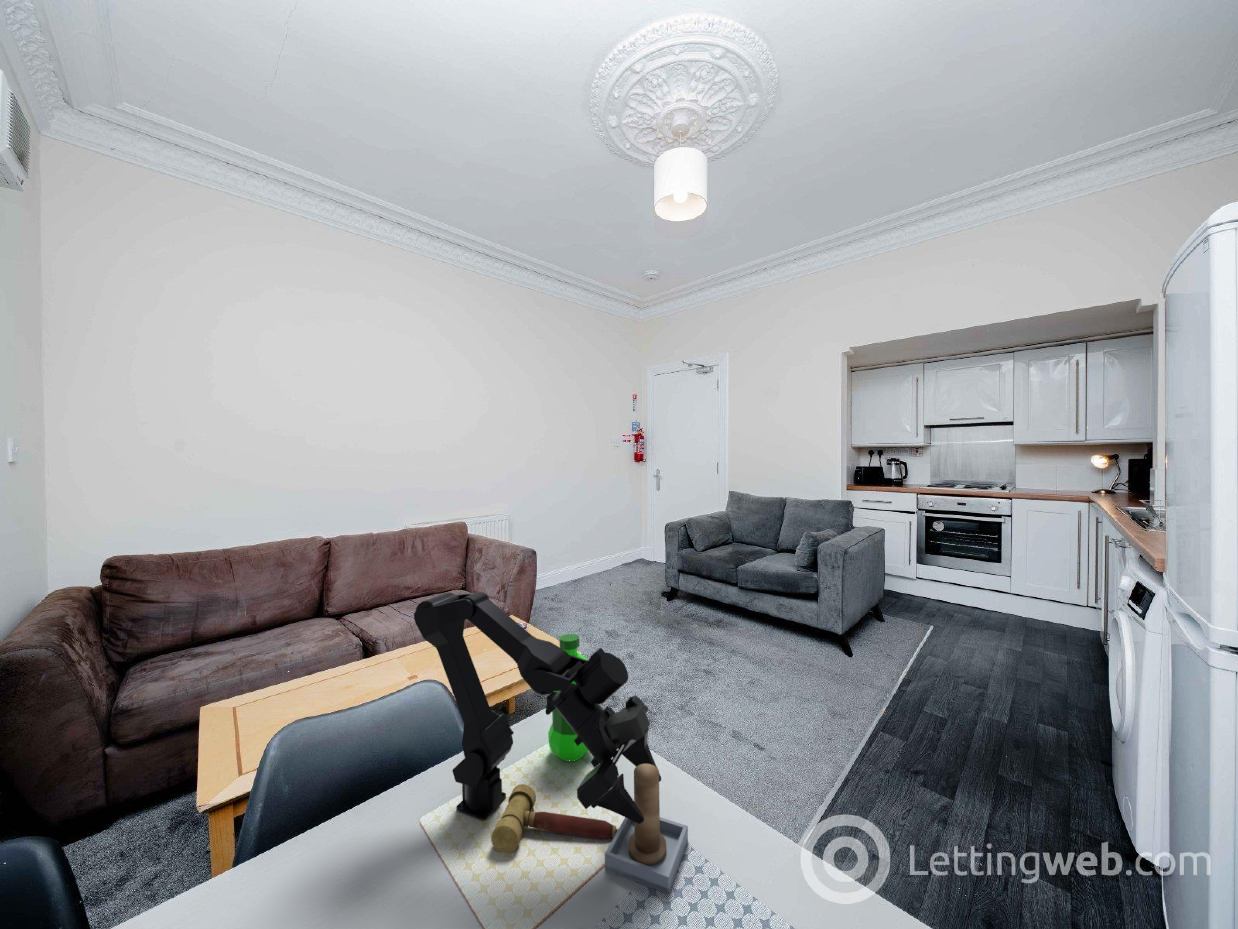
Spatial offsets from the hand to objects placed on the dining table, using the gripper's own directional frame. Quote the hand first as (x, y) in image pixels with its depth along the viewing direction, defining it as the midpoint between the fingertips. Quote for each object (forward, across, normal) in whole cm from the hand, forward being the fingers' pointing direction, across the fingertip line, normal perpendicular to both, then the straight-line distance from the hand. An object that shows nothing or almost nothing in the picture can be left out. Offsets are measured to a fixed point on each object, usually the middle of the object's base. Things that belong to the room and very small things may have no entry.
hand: (651, 800), depth 74 cm
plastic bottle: (-10, +19, +23) cm, 32 cm away
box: (+6, 0, +7) cm, 9 cm away
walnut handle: (+5, 0, +6) cm, 8 cm away
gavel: (-4, 0, +18) cm, 19 cm away
